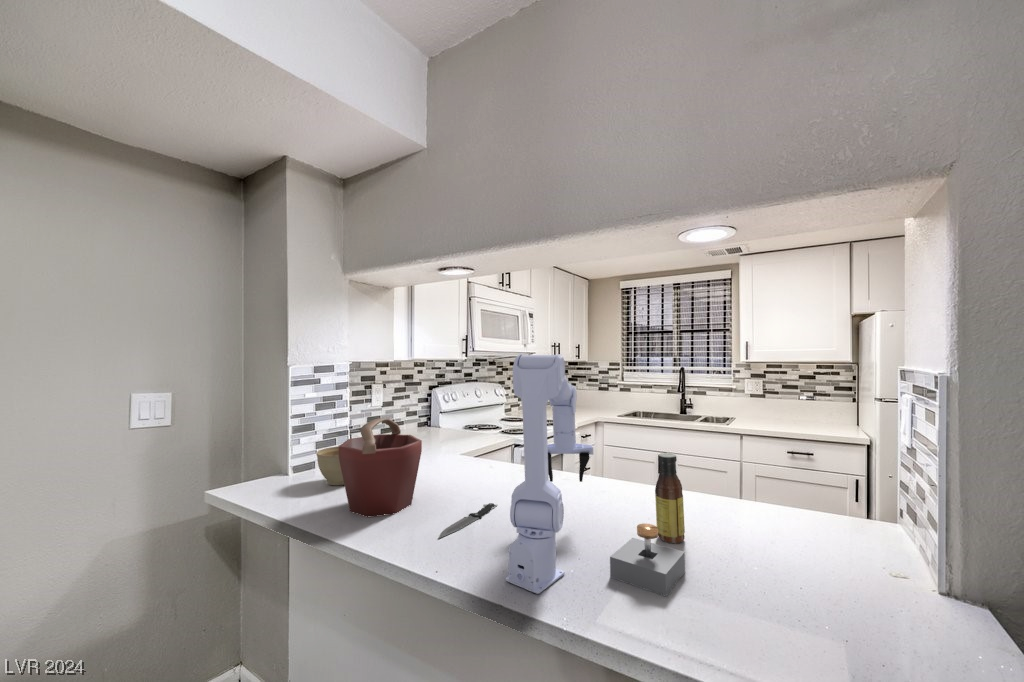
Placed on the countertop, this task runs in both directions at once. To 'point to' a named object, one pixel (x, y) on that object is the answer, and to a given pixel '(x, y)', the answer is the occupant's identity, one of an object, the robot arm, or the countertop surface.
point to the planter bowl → (330, 465)
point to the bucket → (380, 469)
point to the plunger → (647, 535)
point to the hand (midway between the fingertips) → (566, 480)
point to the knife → (468, 519)
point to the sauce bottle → (669, 501)
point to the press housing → (648, 566)
